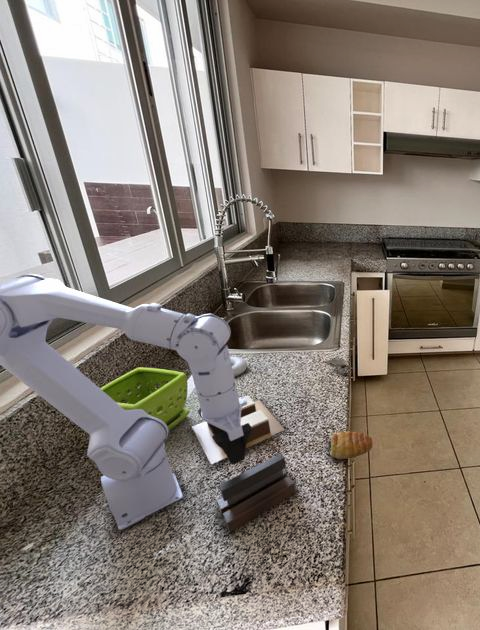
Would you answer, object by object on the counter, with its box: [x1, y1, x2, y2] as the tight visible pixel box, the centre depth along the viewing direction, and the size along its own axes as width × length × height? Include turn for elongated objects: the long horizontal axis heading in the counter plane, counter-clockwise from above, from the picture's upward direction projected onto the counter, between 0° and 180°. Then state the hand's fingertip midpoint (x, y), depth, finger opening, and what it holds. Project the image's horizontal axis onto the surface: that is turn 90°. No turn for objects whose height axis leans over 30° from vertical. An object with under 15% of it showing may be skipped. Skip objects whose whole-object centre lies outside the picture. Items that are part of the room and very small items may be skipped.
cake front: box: [222, 410, 270, 453], centre depth 79 cm, size 10×5×4 cm, turn 134°
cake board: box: [191, 399, 286, 466], centre depth 82 cm, size 16×16×1 cm
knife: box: [218, 453, 287, 510], centre depth 64 cm, size 11×2×8 cm, turn 134°
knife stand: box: [216, 468, 297, 534], centre depth 64 cm, size 12×6×2 cm, turn 134°
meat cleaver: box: [328, 357, 348, 376], centre depth 110 cm, size 12×1×5 cm
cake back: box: [207, 394, 256, 435], centre depth 84 cm, size 10×5×4 cm, turn 134°
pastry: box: [329, 430, 373, 460], centre depth 77 cm, size 9×7×4 cm
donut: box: [230, 356, 248, 378], centre depth 106 cm, size 10×4×10 cm
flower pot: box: [99, 366, 191, 431], centre depth 80 cm, size 14×14×13 cm
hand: (230, 449), depth 63 cm, fingers open, 7 cm apart
